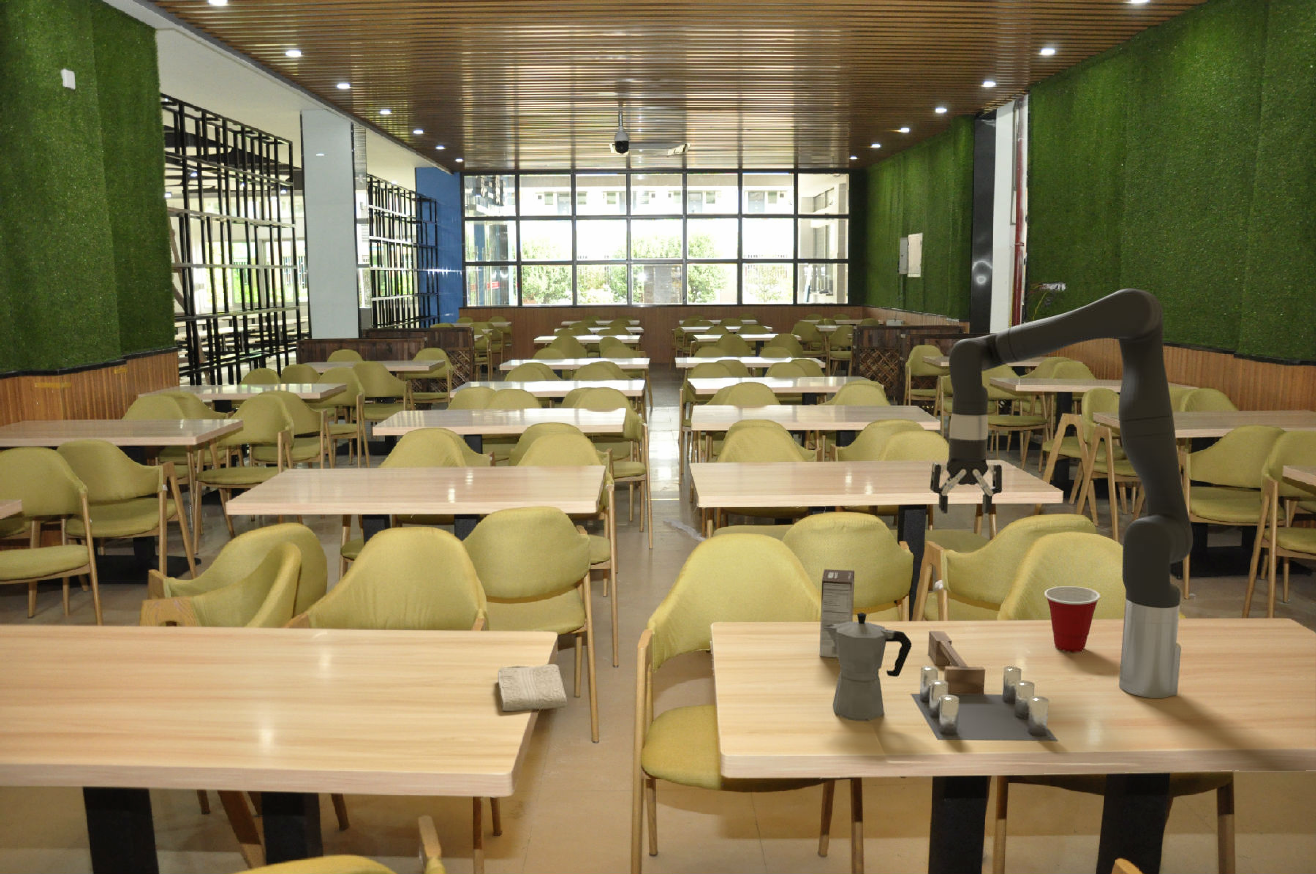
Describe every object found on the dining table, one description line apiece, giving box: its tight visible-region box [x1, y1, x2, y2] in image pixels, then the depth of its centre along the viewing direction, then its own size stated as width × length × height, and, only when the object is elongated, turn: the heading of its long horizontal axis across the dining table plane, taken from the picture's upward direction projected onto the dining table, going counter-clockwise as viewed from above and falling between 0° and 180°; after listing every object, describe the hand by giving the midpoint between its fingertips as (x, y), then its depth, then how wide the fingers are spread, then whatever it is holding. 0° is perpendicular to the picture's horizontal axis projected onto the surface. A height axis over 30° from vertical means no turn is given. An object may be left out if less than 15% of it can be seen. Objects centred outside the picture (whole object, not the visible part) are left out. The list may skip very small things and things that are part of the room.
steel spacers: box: [919, 664, 1049, 737], centre depth 190 cm, size 18×17×6 cm
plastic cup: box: [1044, 585, 1101, 653], centre depth 226 cm, size 11×11×12 cm
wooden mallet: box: [927, 630, 986, 694], centre depth 211 cm, size 7×22×5 cm, turn 0°
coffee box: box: [819, 568, 856, 658], centre depth 223 cm, size 9×6×16 cm
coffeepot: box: [824, 612, 912, 722], centre depth 191 cm, size 15×9×18 cm, turn 66°
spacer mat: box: [910, 693, 1059, 742], centre depth 190 cm, size 20×20×1 cm
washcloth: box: [497, 664, 569, 712], centre depth 200 cm, size 12×18×3 cm, turn 12°
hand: (964, 512), depth 225 cm, fingers open, 8 cm apart
